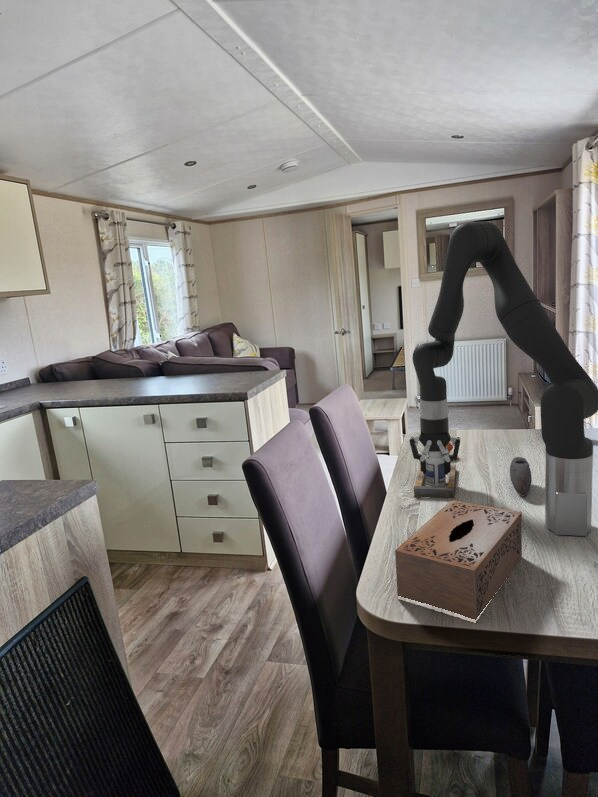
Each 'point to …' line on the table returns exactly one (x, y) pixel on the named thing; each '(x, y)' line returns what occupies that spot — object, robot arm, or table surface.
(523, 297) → the robot arm
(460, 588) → the tissue box cover
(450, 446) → the pot
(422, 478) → the guide channel
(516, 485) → the perforated stone tool
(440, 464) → the pill bottle
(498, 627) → the table surface
